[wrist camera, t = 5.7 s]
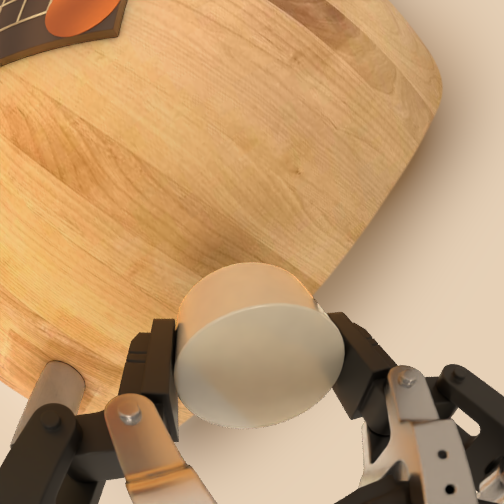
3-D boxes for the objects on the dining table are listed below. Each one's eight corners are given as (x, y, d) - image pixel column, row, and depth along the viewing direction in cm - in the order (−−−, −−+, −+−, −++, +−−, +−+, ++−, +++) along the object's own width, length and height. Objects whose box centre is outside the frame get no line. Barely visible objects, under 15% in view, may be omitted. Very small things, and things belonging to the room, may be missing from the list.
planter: (55, 392, 21) (29, 469, 11) (38, 358, 19) (-1, 438, 10) (91, 395, 22) (72, 481, 12) (75, 361, 20) (42, 451, 11)
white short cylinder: (322, 261, 10) (363, 298, 8) (301, 370, 12) (324, 417, 9) (173, 261, 9) (164, 305, 7) (181, 378, 11) (181, 432, 8)
